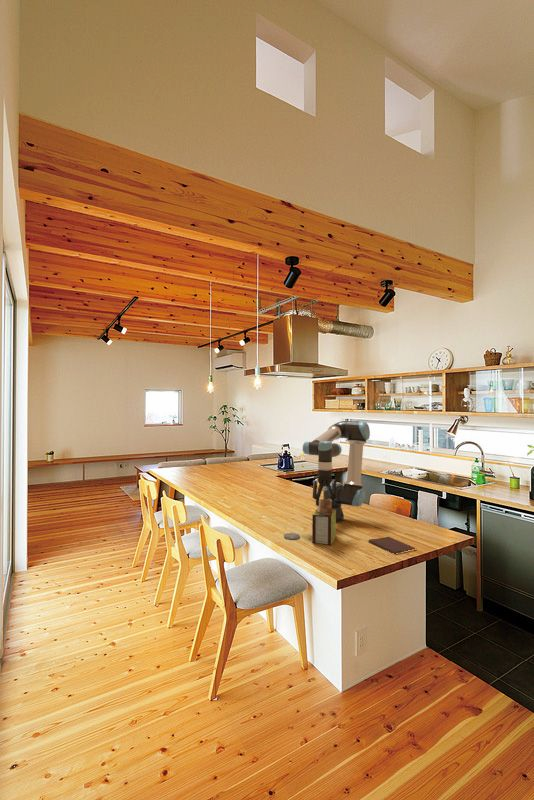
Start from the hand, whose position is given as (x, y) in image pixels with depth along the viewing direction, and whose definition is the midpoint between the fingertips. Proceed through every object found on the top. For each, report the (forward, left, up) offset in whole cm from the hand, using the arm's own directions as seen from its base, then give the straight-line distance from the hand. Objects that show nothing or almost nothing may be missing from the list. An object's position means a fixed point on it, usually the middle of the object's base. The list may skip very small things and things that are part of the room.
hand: (324, 511), depth 218 cm
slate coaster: (+16, -8, -16) cm, 24 cm away
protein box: (0, 0, -16) cm, 16 cm away
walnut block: (0, 0, 0) cm, 0 cm away
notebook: (-31, +18, -16) cm, 39 cm away
